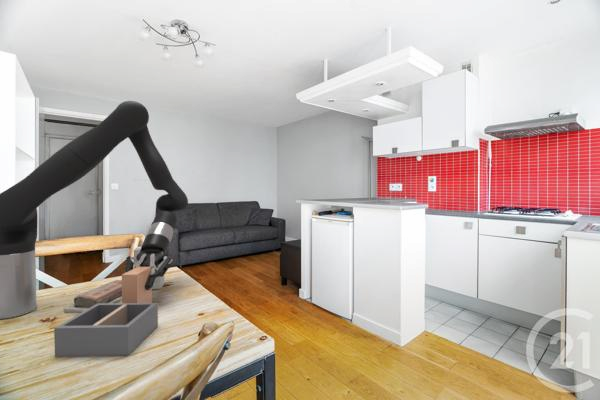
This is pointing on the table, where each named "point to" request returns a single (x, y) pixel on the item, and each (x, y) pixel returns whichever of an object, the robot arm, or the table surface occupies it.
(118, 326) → the grey open tray
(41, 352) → the table surface
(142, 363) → the table surface
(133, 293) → the salmon rectangular block
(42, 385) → the table surface
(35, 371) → the table surface
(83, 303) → the packaged product
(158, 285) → the skincare box
